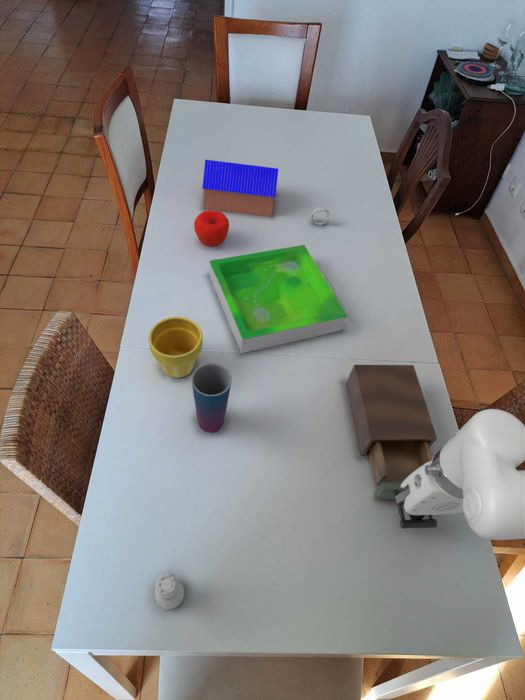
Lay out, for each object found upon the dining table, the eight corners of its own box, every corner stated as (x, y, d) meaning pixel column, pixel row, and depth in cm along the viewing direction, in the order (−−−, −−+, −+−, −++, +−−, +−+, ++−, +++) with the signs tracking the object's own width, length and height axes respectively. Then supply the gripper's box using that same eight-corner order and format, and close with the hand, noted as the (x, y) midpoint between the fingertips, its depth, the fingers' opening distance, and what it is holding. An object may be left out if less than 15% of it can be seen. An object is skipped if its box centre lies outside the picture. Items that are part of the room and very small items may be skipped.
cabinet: (422, 455, 89) (437, 438, 84) (360, 456, 88) (371, 439, 82) (401, 383, 99) (413, 364, 93) (345, 383, 98) (354, 364, 92)
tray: (342, 330, 107) (347, 316, 103) (241, 353, 100) (242, 339, 96) (301, 259, 120) (304, 244, 116) (209, 275, 113) (209, 260, 109)
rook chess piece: (150, 605, 69) (145, 597, 63) (161, 574, 72) (156, 563, 66) (178, 613, 69) (176, 605, 63) (188, 581, 72) (186, 571, 65)
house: (207, 185, 136) (208, 147, 127) (274, 193, 137) (279, 156, 128) (202, 209, 129) (202, 171, 119) (272, 217, 130) (277, 181, 120)
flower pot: (154, 345, 98) (149, 315, 91) (202, 345, 100) (202, 315, 92) (151, 386, 92) (146, 357, 85) (202, 384, 94) (202, 357, 86)
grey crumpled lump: (327, 227, 129) (331, 212, 125) (310, 225, 129) (313, 211, 125) (326, 221, 131) (330, 206, 127) (309, 219, 131) (312, 204, 127)
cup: (189, 433, 87) (186, 391, 75) (198, 403, 91) (197, 359, 79) (224, 440, 87) (227, 399, 75) (231, 409, 91) (235, 366, 79)
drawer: (444, 531, 80) (457, 522, 75) (381, 534, 78) (391, 525, 74) (412, 422, 92) (422, 409, 88) (358, 422, 91) (365, 409, 87)
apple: (203, 257, 117) (202, 232, 111) (189, 236, 121) (188, 211, 115) (234, 248, 120) (235, 224, 114) (219, 228, 124) (220, 204, 118)
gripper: (416, 498, 61) (376, 535, 76) (519, 495, 63) (460, 532, 78) (403, 446, 66) (367, 491, 80) (499, 445, 68) (447, 489, 82)
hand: (413, 511), depth 79 cm, fingers closed
